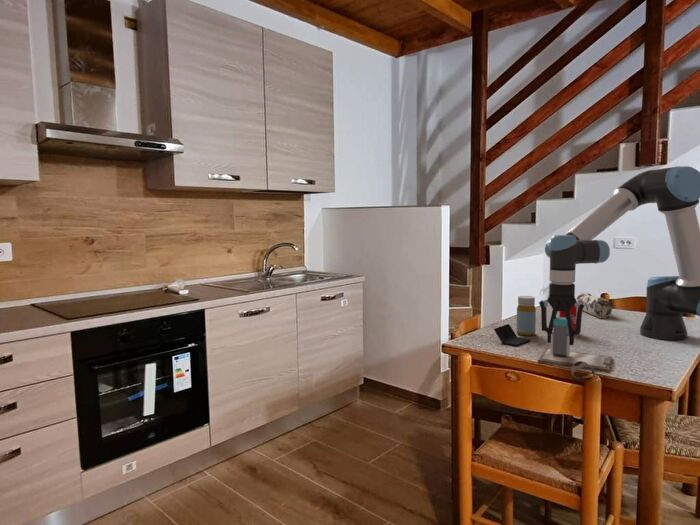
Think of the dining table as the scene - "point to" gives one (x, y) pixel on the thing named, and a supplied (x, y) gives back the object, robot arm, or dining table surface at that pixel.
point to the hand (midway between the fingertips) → (560, 353)
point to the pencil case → (595, 305)
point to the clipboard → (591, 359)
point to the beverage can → (573, 315)
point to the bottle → (526, 316)
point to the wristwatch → (578, 366)
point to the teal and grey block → (560, 336)
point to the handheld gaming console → (509, 336)
